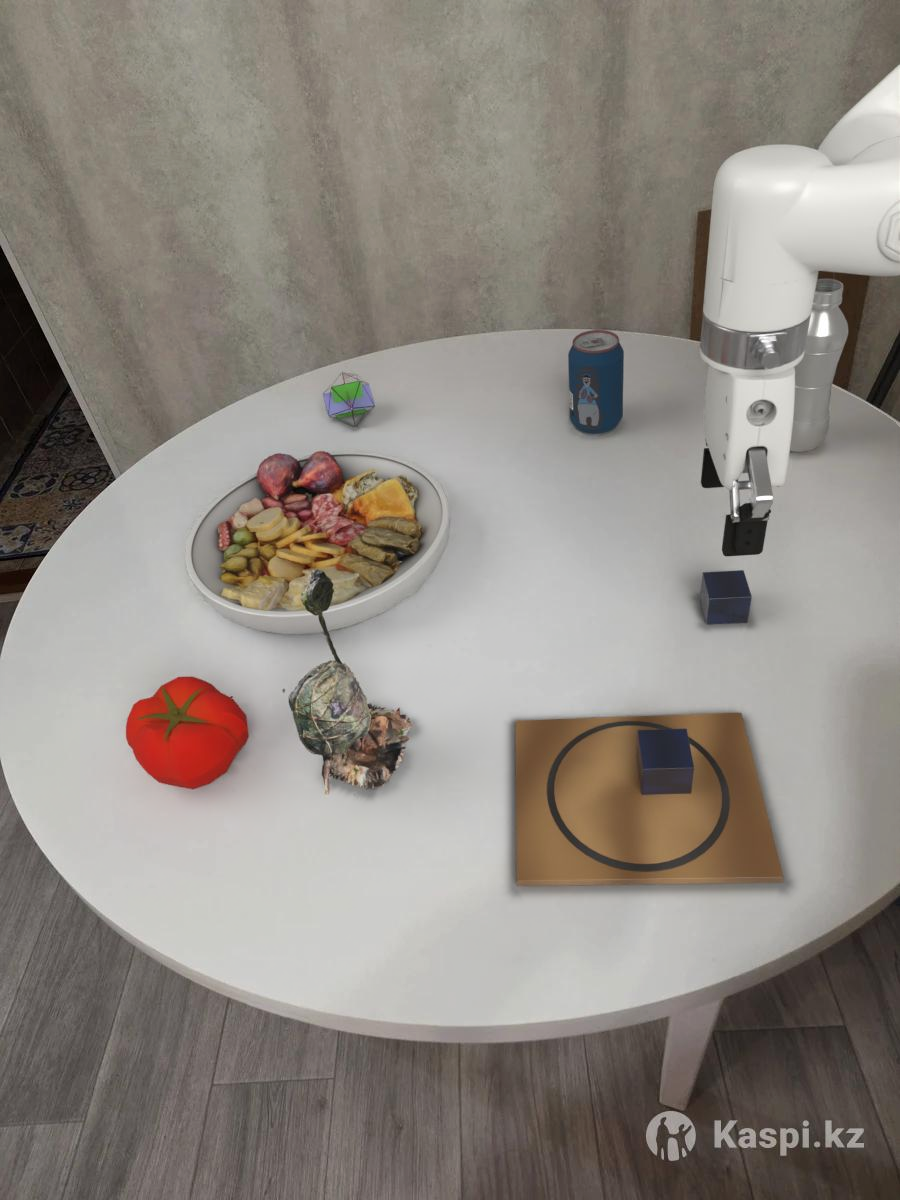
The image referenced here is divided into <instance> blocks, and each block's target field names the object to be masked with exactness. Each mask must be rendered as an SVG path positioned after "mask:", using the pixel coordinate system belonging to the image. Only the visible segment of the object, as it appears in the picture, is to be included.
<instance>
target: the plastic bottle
mask: <svg viewBox="0 0 900 1200" xmlns="http://www.w3.org/2000/svg"><path fill="white" fill-rule="evenodd" d="M843 292H844V283H843V282H841V281H839V280H838V279H835V278H817V283H816V288H815V294H814V300H813V305H812V310H811V317H810V323H809V329H808V335H807V340H806V346H805V353H804V357H803V359H802V360H801V362H800V363H798V364H797V365H796V366H794V368H795V403H794V416H793V426H792V435H791V444H790V452H793V453H794V452H795V453H802V452H808V451H812V450H815V449H817V448H818V447H819V446H820V445H821V444H822V443H823V442H824V441H825V439H826V437H827V434H828V431H829V429H830V419H831V416H830V403H831V396H832V387H833V382H834V378H835V376H836V371H837V367H838V364H839V361H840V358H841V356H842V353H843V350H844V348H845V344H846V342H847V340H848V336H849V324H848V321H847V319H846V317H845V315H844V313H843V311H842V310H841V308H840V307H839V306H840V305H841V304H842V302H843Z"/></svg>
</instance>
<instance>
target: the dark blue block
mask: <svg viewBox="0 0 900 1200" xmlns="http://www.w3.org/2000/svg"><path fill="white" fill-rule="evenodd" d="M701 576H702V577H701V584H700V596H699V599H700V603H701V608H702V613H703V615H704V620H705V624H706V625H726V624H747V623H749V617H750V612H751V604H752V598H753V596H752V592H751V590H750V587H749V583H748V579H747V576H746V573H745V570H743V569H740V570H722V571H721V570H720V571H704V572H702V575H701Z"/></svg>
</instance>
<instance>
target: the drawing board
mask: <svg viewBox="0 0 900 1200" xmlns="http://www.w3.org/2000/svg"><path fill="white" fill-rule="evenodd" d="M657 729H687V733H688V738H689V743H690V749H691V754H692V759H693V764H694V774H693V782H692V790H691V794H652V795H642V794H641V787H640V780H639V772H638V765H637V757H636V752H637V731H638V730H657ZM751 748H752V747H751V745H750V740H749V737H748V733H747V728H746V725H745V721H744V717H743V714H742V712H722V713H721V712H720V713H719V712H718V713H691V714H665V715H664V714H663V715H637V716H635V715H634V716H610V717H609V716H608V717H607V716H606V717H604V716H603V717H580V718H579V717H578V718H550V719H548V718H547V719H522V720H515V810H516V811H515V824H516V825H515V827H516V828H515V829H516V830H515V833H516V834H515V835H516V836H515V838H516V842H515V843H516V844H515V845H516V848H515V849H516V850H515V851H516V886H518V887H536V886H537V887H539V886H547V887H550V886H551V887H553V886H614V885H615V886H619V885H623V886H625V885H626V886H627V885H689V884H691V885H694V884H695V885H696V884H700V885H701V884H752V883H753V884H760V883H762V884H766V883H767V884H768V883H769V884H770V883H771V884H772V883H774V884H775V883H783V880H784V873H783V870H782V866H781V861H780V858H779V854H778V850H777V845H776V842H775V837H774V835H773V830H772V827H771V823H770V818H769V814H768V811H767V807H766V803H765V799H764V796H763V792H762V788H761V782H760V780H759V776H758V772H757V768H756V765H755V764H756V763H755V760H754V756H753V753H752V749H751Z"/></svg>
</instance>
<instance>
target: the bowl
mask: <svg viewBox="0 0 900 1200" xmlns="http://www.w3.org/2000/svg"><path fill="white" fill-rule="evenodd" d="M450 527H451V517H450V508H449V502H448V499H447V496H446V493H445V490H444V489H443V487H442V486H441V484H440V483H439V482H438V481H437V480H436V478H435V477H433V476H432V475H431V474H430V473H429V472H428V471H426V470H425V469H423V468H422V467H420V466H419V465H417V464H414V463H413V462H410V461H409V460H406V459H403V458H401V457H397V456H394V455H389V454H384V453H378V452H372V451H359V450H345V451H344V450H343V451H330V452H327V451H324V450H320V451H319V450H318V451H315V452H314V453H312V454H310V455H305V456H301V457H297V458H296V457H294V456H292V455H291V454H287V453H282V452H278V453H274V454H271V455H269V456H268V457H266V458H264V459H263V460H262V461H261V462H260V463H259V465H258V468H257V471H256V472H255V473H253V474H251V475H249V476H248V477H246V478H244V479H242V480H241V481H239V482H237V483H235V484H234V485H233V486H231V487H229V488H228V489H227V490H225V491H224V492H223V493H222V494H220V495H219V496H218V497H217V498H216V499H214V501H212V502H211V503H210V504H209V505H208V507H207V508H206V509H204V511H203V512H202V514H201V515H200V516H199V517H198V519H197V520H196V522H195V523H194V525H193V527H192V528H191V531H190V533H189V535H188V537H187V540H186V544H185V552H184V555H185V556H184V559H185V566H186V571H187V573H188V575H189V578H190V580H191V582H192V585H193V586H194V589H196V591H197V593H198V594H199V595H200V597H201V598H202V599H203V601H204V602H205V603H207V605H209V607H210V608H211V609H212V610H214V611H215V612H217V613H218V614H220V615H222V616H223V617H224V618H226V619H228V620H230V621H231V622H234V623H236V624H238V625H241V626H244V627H246V628H249V629H252V630H256V631H260V632H263V633H272V634H279V635H309V634H310V635H311V634H319V633H324V632H323V628H322V627H321V624H320V622H319V618H318V615H317V616H316V615H313V614H312V613H310V612H309V611H307V610H306V608H305V606H304V605H303V603H302V601H301V589H302V586H303V584H304V581H305V580H306V578H307V577H308V576H309V575H310V574H311V571H312V570H313V569H315V570H322V571H323V572H324V573H325V574H326V576H327V577H328V578H330V579H331V581H332V583H333V589H334V593H333V598H332V600H331V604H330V607H329V608H328V610H327V611H324V612H322V613H323V617H324V620H325V623H326V627H327V630H328V632H331V631H336V630H340V629H345V628H348V627H351V626H354V625H357V624H360V623H363V622H365V621H368V620H370V619H372V618H375V617H377V616H379V615H382V614H383V613H385V612H387V611H389V610H390V609H392V608H394V607H395V606H397V605H398V604H400V603H402V602H403V601H404V600H406V599H407V598H408V597H409V596H411V595H412V594H413V593H414V592H415V591H416V590H418V589H419V588H420V587H421V586H422V585H423V584H424V582H426V580H427V579H428V578H429V577H430V576H431V574H432V573H433V572H434V570H435V568H436V567H437V565H438V564H439V562H440V560H441V559H442V557H443V554H444V552H445V550H446V547H447V544H448V540H449V536H450V529H451V528H450Z"/></svg>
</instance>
